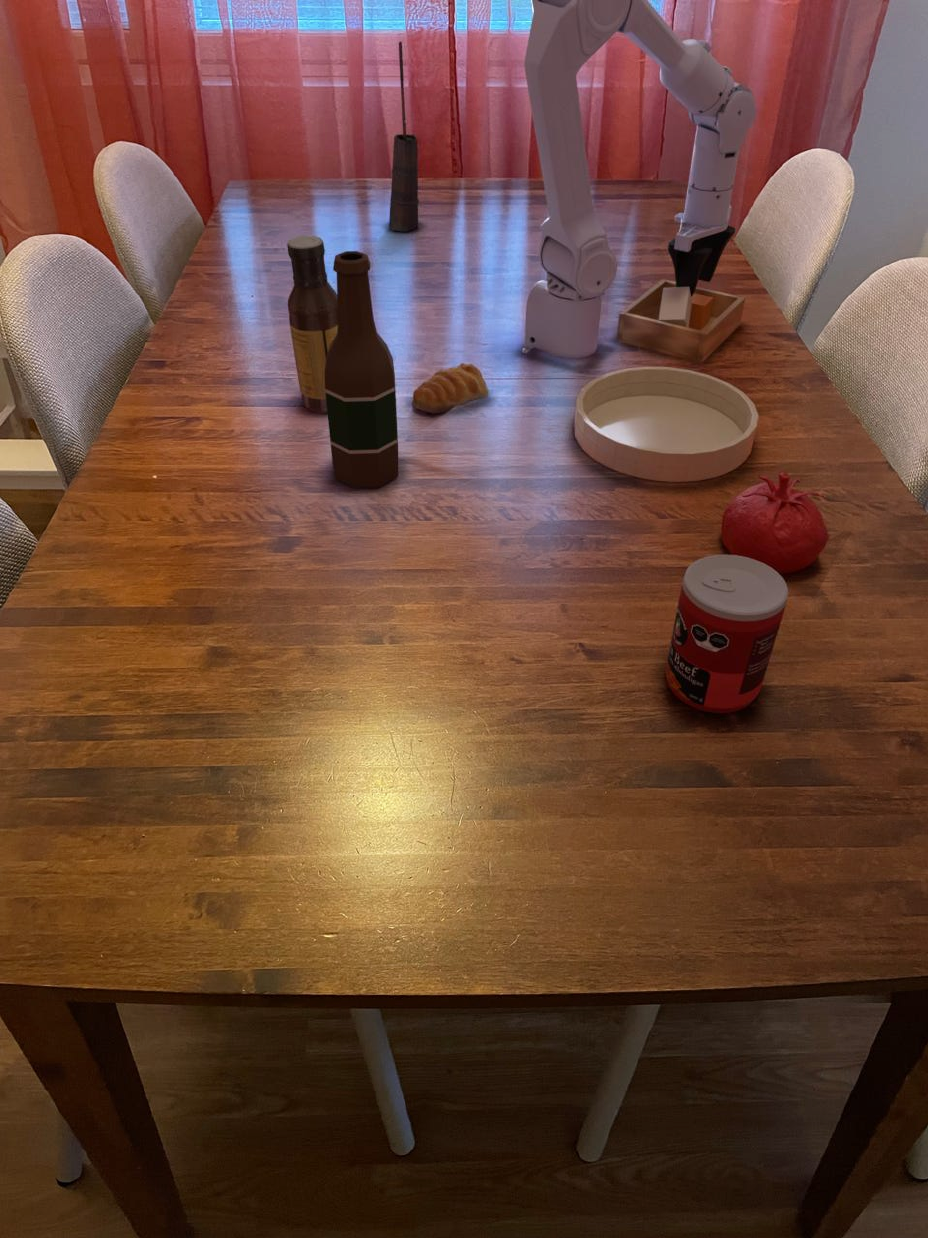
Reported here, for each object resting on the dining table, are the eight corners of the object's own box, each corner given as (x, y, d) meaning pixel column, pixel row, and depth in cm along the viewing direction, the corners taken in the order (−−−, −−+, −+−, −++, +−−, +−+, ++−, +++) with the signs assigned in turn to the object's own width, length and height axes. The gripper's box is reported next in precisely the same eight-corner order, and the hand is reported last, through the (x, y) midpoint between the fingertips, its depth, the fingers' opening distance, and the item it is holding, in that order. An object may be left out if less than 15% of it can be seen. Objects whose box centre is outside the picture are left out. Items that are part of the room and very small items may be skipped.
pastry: (433, 423, 114) (432, 394, 112) (400, 403, 118) (398, 374, 116) (492, 400, 118) (493, 372, 116) (459, 381, 122) (459, 353, 120)
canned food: (654, 655, 83) (673, 555, 76) (743, 650, 84) (770, 550, 77) (676, 719, 77) (698, 617, 70) (771, 713, 78) (803, 612, 71)
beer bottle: (412, 460, 108) (404, 246, 92) (385, 496, 102) (372, 275, 86) (349, 448, 110) (331, 237, 94) (320, 483, 104) (295, 264, 88)
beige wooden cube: (662, 334, 130) (658, 320, 127) (666, 302, 131) (663, 287, 128) (687, 333, 129) (684, 319, 126) (692, 301, 130) (689, 286, 127)
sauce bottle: (344, 387, 121) (330, 227, 108) (357, 409, 117) (343, 246, 104) (294, 395, 119) (274, 234, 106) (306, 418, 115) (286, 253, 102)
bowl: (542, 454, 109) (544, 419, 106) (619, 385, 122) (623, 352, 119) (710, 509, 100) (718, 473, 97) (774, 428, 113) (782, 394, 110)
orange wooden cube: (700, 329, 133) (704, 305, 131) (667, 322, 135) (670, 298, 133) (709, 321, 135) (713, 297, 133) (676, 313, 137) (680, 289, 135)
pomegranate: (762, 599, 89) (784, 518, 83) (695, 543, 96) (712, 464, 90) (841, 570, 93) (867, 489, 86) (771, 517, 99) (791, 439, 93)
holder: (615, 341, 131) (619, 312, 129) (658, 305, 141) (662, 278, 138) (701, 363, 126) (706, 334, 124) (740, 325, 136) (745, 297, 133)
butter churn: (432, 238, 162) (429, 50, 144) (377, 238, 162) (366, 50, 144) (434, 220, 169) (431, 39, 151) (381, 219, 169) (372, 38, 151)
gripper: (703, 165, 129) (687, 265, 138) (659, 194, 120) (645, 298, 129) (752, 174, 126) (733, 275, 135) (711, 203, 117) (694, 310, 126)
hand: (693, 287), depth 132 cm, fingers open, 6 cm apart
